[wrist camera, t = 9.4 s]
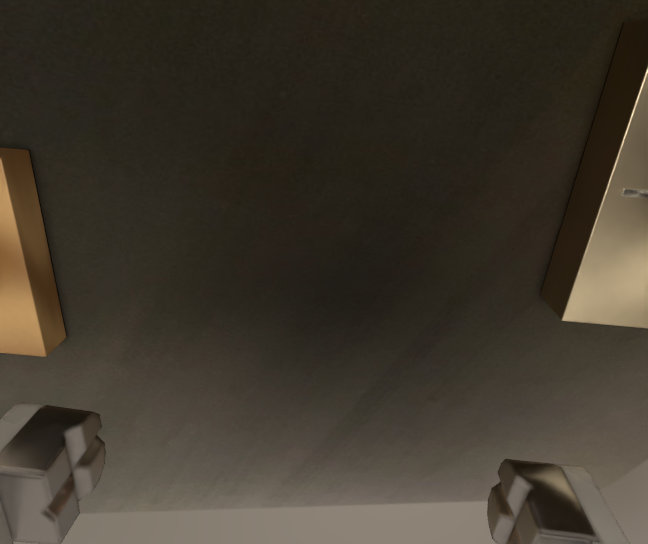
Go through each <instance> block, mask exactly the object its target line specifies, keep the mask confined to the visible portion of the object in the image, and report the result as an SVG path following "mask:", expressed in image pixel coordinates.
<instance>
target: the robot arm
mask: <svg viewBox="0 0 648 544" xmlns="http://www.w3.org/2000/svg"><path fill="white" fill-rule="evenodd" d="M101 427H102V424H101V419H100V415H99V414H98V413H95V412H91V411H84V410H77V409H70V408H63V407H56V406H48V405H46V406H45V405H38V404H31V403H24V402H22V403H19V404H17V405H15V406H13V407H12V408H11V409H10V410H9V411H8V412H7V413H6V414H5V415H4V416H3V417H2V418H1V419H0V544H13V541H14V542H26V543H38V544H61V543H62V541H63V539H64V538H65V536H66V535H67V533H68V531H69V529H70V528H71V526H72V525H73V523H74V521H75V520H76V518H77V516H78V515H79V513H80V510H79V504H78V501H79V500H81V499H82V498H84V497H85V496H87V495H88V494H90V493H91V492H92V491H93V490H94V488H95V486H96V484H97V483H98V481H99V479H100V476H101V473H102V470H103V467H104V464H105V455H106V450H105V443H104V442H103V441H102V440H101V439H100V438H99V437H98V436H97V433H98V432H99V430H100V429H101ZM498 475H499V478H500V481H501V482H500V483H499V484H497V485H496V486H494V487H493V488H492V489H491V492H490V495H489V499H488V511H487V514H488V521H489V528H490V532H491V535H492V539H493V540H494V541H495V542H496V543H497V544H630V543H629V542H628V539H627V538H626V536H625V535H624V532H623V531H622V529H621V527H620V526H619V524H618V522H617V520H616V519H615V517H614V515H613V514H612V512H611V510H610V508H609V507H608V505H607V503H606V501H605V500H604V498H603V496H602V495H601V493H600V491H599V489H598V487H597V486H596V484H595V482H594V480H593V479H592V477H591V475H590V473H589V472H588V471H587V470H586V469H585V468H583V467H578V466H568V465H559V464H556V465H555V464H550V463H540V462H531V461H521V460H511V459H505V460H504V461H503V462H502V463H501V465H500V467H499V470H498Z"/></svg>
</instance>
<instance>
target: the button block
mask: <svg viewBox="0 0 648 544" xmlns="http://www.w3.org/2000/svg"><path fill="white" fill-rule="evenodd" d="M65 338H66V333H65V328H64V323H63V318H62V313H61V308H60V303H59V298H58V293H57V288H56V283H55V278H54V273H53V268H52V263H51V259H50V254H49V249H48V244H47V239H46V234H45V229H44V224H43V219H42V214H41V209H40V204H39V199H38V194H37V189H36V184H35V179H34V174H33V169H32V164H31V159H30V154H29V150H24V149H12V148H0V353H11V354H22V355H33V356H44V357H46V356H47V355H48V354H49V353H51V352H52V351H53V350H54V349H55V348H56V347H57V346H58V345H59V344H60V343H61V342H62V341H63V340H64V339H65Z"/></svg>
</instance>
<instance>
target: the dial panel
mask: <svg viewBox="0 0 648 544" xmlns="http://www.w3.org/2000/svg"><path fill="white" fill-rule="evenodd" d="M541 296H542V297H543V298H544V299H545V301H546V302H547V303H548V304H549V306H550V307H551V308H552V309H553V311H554V312H555V313H556V314H557V316H558V317H559V318H560V319H561V320H562V321H570V322H582V323H593V324H605V325H616V326H627V327H639V328H648V19H641V20H634V21H627V22H624V24H623V28H622V31H621V34H620V37H619V41H618V44H617V47H616V50H615V54H614V57H613V60H612V63H611V67H610V70H609V73H608V76H607V80H606V83H605V86H604V89H603V93H602V96H601V99H600V102H599V106H598V109H597V112H596V115H595V119H594V122H593V125H592V128H591V132H590V135H589V138H588V141H587V145H586V148H585V151H584V154H583V158H582V161H581V164H580V167H579V171H578V174H577V177H576V180H575V184H574V187H573V190H572V193H571V197H570V200H569V203H568V206H567V210H566V213H565V216H564V219H563V223H562V226H561V229H560V232H559V236H558V239H557V242H556V245H555V249H554V252H553V255H552V258H551V262H550V265H549V268H548V271H547V275H546V278H545V281H544V284H543V288H542V291H541Z"/></svg>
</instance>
